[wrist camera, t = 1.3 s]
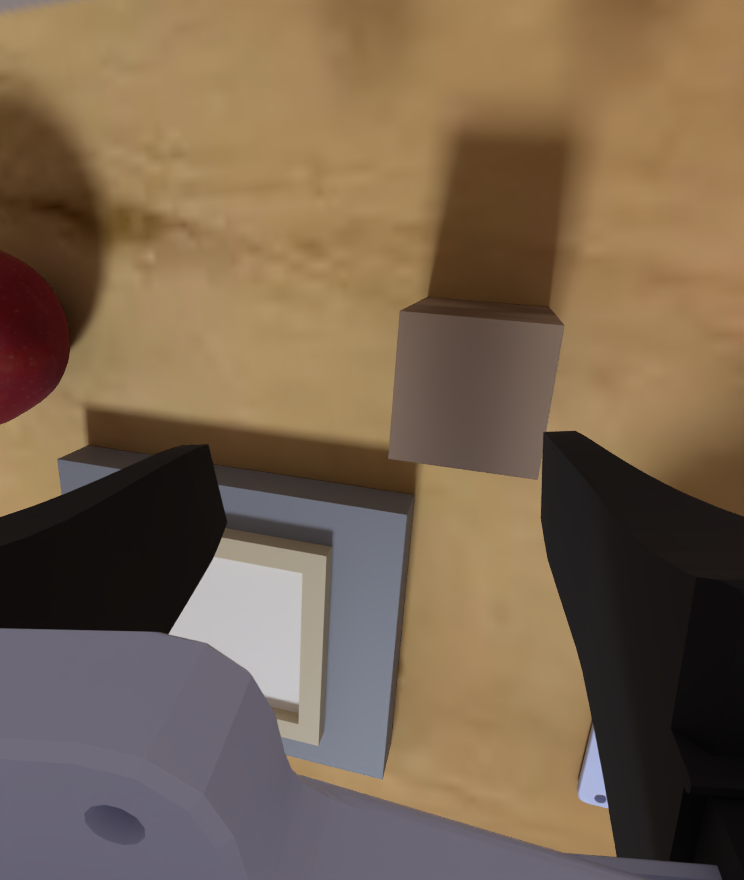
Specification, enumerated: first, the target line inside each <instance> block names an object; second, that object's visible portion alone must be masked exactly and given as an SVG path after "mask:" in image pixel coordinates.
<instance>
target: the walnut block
mask: <svg viewBox="0 0 744 880" xmlns="http://www.w3.org/2000/svg"><path fill="white" fill-rule="evenodd" d="M563 331H564V324H563V323H562V322H561V321H560V320H559V318H558V317H557V316H556V315H555V314H554V312H553V311H552V310H551V309H550V308H549V307H543V306H531V305H519V304H507V303H495V302H483V301H471V300H459V299H446V298H434V297H426V298H424V299H422V300H420V301H418V302H416V303H415V304H413V305H411V306H409V307H407V308H405V309H403V310H401V311H400V315H399V328H398V341H397V353H396V366H395V379H394V392H393V405H392V417H391V430H390V443H389V456H388V459H393V460H400V461H407V462H414V463H422V464H429V465H436V466H443V467H450V468H457V469H464V470H471V471H478V472H486V473H493V474H500V475H507V476H514V477H521V478H528V479H535V480H538V475H539V469H540V464H541V458H542V452H543V432H546V429H547V423H548V417H549V412H550V406H551V400H552V394H553V389H554V383H555V377H556V371H557V366H558V360H559V354H560V348H561V342H562V337H563Z"/></svg>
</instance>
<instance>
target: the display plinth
mask: <svg viewBox="0 0 744 880" xmlns="http://www.w3.org/2000/svg"><path fill="white" fill-rule="evenodd" d="M150 456H153V455H148V454H141V453H135V452H128V451H122V450H115V449H109V448H102V447H95V446H89V445H88V446H86V447H83V448H81V449H79V450H77V451H75V452H72V453H70V454H68V455H66V456H63V457H61V458H59V459H57V460H58V468H59V476H60V484H61V492H62V495H63V494H65V493H68V492H70V491H72V490H75V489H77V488H80V487H82V486H84V485H87V484H89V483H91V482H94V481H96V480H99V479H101V478H103V477H105V476H108V475H110V474H112V473H114V472H117V471H119V470H121V469H123V468H125V467H128V466H130V465H132V464H134V463H137V462H139V461H141V460H143V459H146V458H148V457H150ZM213 466H214V470H215V474H216V478H217V482H218V486H219V490H220V494H221V498H222V502H223V506H224V510H225V514H226V519H227V525H226V528H225V530H224V533H223V536H222V538H221V541H220V544H219V546H218V548H217V551H216V553H215V556H214V558H213V560H212V562H211V563H210V565H209V567H208V569H207V570H206V572H205V574H204V576H203V577H202V579H201V581H200V582H199V584H198V586H197V588H196V589H195V591H194V593H193V594H192V596H191V598H190V599H189V601H188V603H187V604H186V606H185V608H184V609H183V611H182V613H181V614H180V616H179V618H178V619H177V621H176V623H175V624H174V626H173V628H172V629H171V631H170V633H169V635H174V636H178V637H182V638H187V639H191V640H196V641H200V642H204V643H208V644H209V645H211V646H212V647H214V648H215V649H217V650H218V651H220V652H221V653H223V654H224V655H226V656H227V657H228V658H230V659H231V660H233V661H234V662H236V663H237V664H239V665H240V666H242V667H243V668H245V669H246V670H248V671H249V672H250V674H251V675H252V676H253V678H254V679H255V681H256V683H257V684H258V686H259V688H260V689H261V691H262V693H263V694H264V696H265V698H266V699H267V701H268V703H269V704H270V706H271V708H272V709H273V711H274V713H275V715H276V719H277V723H278V727H279V731H280V735H281V739H282V743H283V747H284V751H285V755H288V756H292V757H296V758H300V759H303V760H307V761H311V762H315V763H319V764H323V765H327V766H331V767H335V768H339V769H343V770H347V771H351V772H355V773H359V774H363V775H367V776H370V777H374V778H378V779H383V775H384V771H385V767H386V762H387V758H388V754H389V750H390V746H391V736H392V725H393V715H394V705H395V694H396V684H397V674H398V663H399V653H400V642H401V632H402V622H403V611H404V601H405V591H406V580H407V570H408V560H409V549H410V539H411V529H412V518H413V508H414V497H415V495H411V494H404V493H398V492H391V491H385V490H378V489H372V488H365V487H358V486H352V485H345V484H339V483H332V482H326V481H319V480H312V479H306V478H299V477H293V476H286V475H280V474H273V473H266V472H260V471H253V470H247V469H240V468H234V467H227V466H220V465H214V464H213Z"/></svg>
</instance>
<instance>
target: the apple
mask: <svg viewBox="0 0 744 880" xmlns="http://www.w3.org/2000/svg"><path fill="white" fill-rule="evenodd" d="M69 353H70V335H69V328H68V323H67V319H66V316H65V313H64V310H63V308H62V306H61V304H60V302H59V300H58V298H57V296H56V295H55V293H54V292H53V290H52V289H51V287H50V286H49V285H48V284H47V282H46V281H45V280H44V279H43V278H42V277H41V276H40V275H39V273H37V272H36V271H35V270H34V269H33V268H32V267H30V266H29V265H27V264H26V263H24V262H22V261H21V260H19V259H17V258H15V257H13V256H12V255H9V254H7V253H5V252H3V251H1V250H0V424H3V423H6V422H8V421H10V420H12V419H14V418H16V417H17V416H19V415H21V414H22V413H24V412H26V411H28V410H29V409H31V408H32V407H34V406H35V405H37V404H38V403H40V402H41V401H42V400H44V399H45V398H46V397H47V396H48V395H49V394H50V393H51V392H52V391H53V390H54V389H55V388H56V386H57V385H58V384H59V382H60V380H61V378H62V376H63V374H64V372H65V369H66V366H67V363H68V360H69Z"/></svg>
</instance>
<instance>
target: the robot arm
mask: <svg viewBox="0 0 744 880" xmlns="http://www.w3.org/2000/svg"><path fill="white" fill-rule="evenodd" d="M541 522H542V528H543V535H544V541H545V547H546V552H547V558H548V561H549V565H550V568H551V571H552V574H553V577H554V581H555V584H556V587H557V590H558V593H559V596H560V599H561V602H562V605H563V609H564V612H565V615H566V618H567V621H568V624H569V627H570V630H571V633H572V636H573V640H574V643H575V646H576V649H577V653H578V656H579V660H580V664H581V668H582V672H583V676H584V681H585V686H586V691H587V696H588V701H589V706H590V711H591V716H592V721H593V724H592V728H591V732H590V736H589V740H588V744H587V748H586V752H585V756H584V760H583V765H582V769H581V773H580V777H579V781H578V785H577V793H578V797H579V799H580V800H582V801H583V802H585V803H588V804H592V805H597V806H601V807H605V808H609V814H610V820H611V825H612V831H613V837H614V843H615V849H616V855H617V857H608V856H596V855H584V854H572V853H562V852H559V851H555V850H552V849H549V848H545V847H542V846H539V845H535V844H532V843H528V842H525V841H522V840H518V839H515V838H512V837H508V836H505V835H501V834H498V833H495V832H491V831H488V830H485V829H481V828H478V827H474V826H471V825H468V824H464V823H461V822H458V821H454V820H451V819H447V818H444V817H441V816H437V815H434V814H431V813H427V812H424V811H420V810H417V809H414V808H410V807H407V806H404V805H400V804H397V803H393V802H390V801H387V800H383V799H380V798H377V797H373V796H370V795H366V794H363V793H360V792H356V791H353V790H350V789H346V788H343V787H339V786H336V785H333V784H329V783H326V782H323V781H319V780H316V779H312V778H309V777H306V776H301V775H298V774H296V773H295V772H294V771H293V770H292V769H291V767H290V765H289V762H288V760H287V758H286V755H285V751H284V747H283V743H282V739H281V735H280V731H279V727H278V723H277V719H276V715H275V713H274V711H273V709H272V708H271V706H270V704H269V703H268V701H267V699H266V698H265V696H264V694H263V693H262V691H261V689H260V688H259V686H258V684H257V683H256V681H255V679H254V678H253V676H252V675H251V674H250V672H249V671H248V670H246V669H245V668H243V667H242V666H240V665H239V664H237V663H236V662H234V661H233V660H231V659H230V658H228V657H227V656H226V655H224V654H223V653H221V652H220V651H218V650H217V649H215V648H214V647H212V646H211V645H209V644H208V643H204V642H200V641H196V640H191V639H187V638H182V637H178V636H174V635H169V633H170V631H171V629H172V628H173V626H174V624H175V623H176V621H177V619H178V618H179V616H180V614H181V613H182V611H183V609H184V608H185V606H186V604H187V603H188V601H189V599H190V598H191V596H192V594H193V593H194V591H195V589H196V588H197V586H198V584H199V582H200V581H201V579H202V577H203V576H204V574H205V572H206V570H207V569H208V567H209V565H210V563H211V562H212V560H213V558H214V556H215V553H216V551H217V548H218V546H219V544H220V541H221V538H222V536H223V533H224V530H225V528H226V525H227V519H226V514H225V510H224V506H223V502H222V498H221V494H220V490H219V486H218V482H217V478H216V474H215V470H214V466H213V462H212V458H211V454H210V449H209V445H208V444H204V445H182V446H178V447H174V448H171V449H168V450H165V451H163V452H160V453H158V454H155V455H153V456H150V457H148V458H146V459H143V460H141V461H139V462H137V463H134V464H132V465H130V466H128V467H125V468H123V469H121V470H119V471H117V472H114V473H112V474H110V475H108V476H105V477H103V478H101V479H99V480H96V481H94V482H91V483H89V484H87V485H84V486H82V487H80V488H77V489H75V490H72V491H70V492H68V493H65V494H63V495H61V496H58V497H56V498H53V499H51V500H48V501H45V502H43V503H40V504H37V505H35V506H32V507H29V508H26V509H23V510H20V511H17V512H14V513H11V514H8V515H5V516H2V517H0V880H744V517H743V516H740V515H737V514H734V513H732V512H729V511H726V510H723V509H721V508H718V507H716V506H713V505H711V504H709V503H706V502H704V501H701V500H699V499H697V498H694V497H692V496H689V495H687V494H685V493H683V492H681V491H678V490H676V489H674V488H672V487H670V486H668V485H666V484H665V483H663V482H661V481H659V480H657V479H655V478H653V477H651V476H649V475H647V474H646V473H644V472H642V471H640V470H639V469H637V468H635V467H633V466H632V465H630V464H628V463H627V462H625V461H623V460H622V459H620V458H619V457H617V456H615V455H614V454H612V453H611V452H609V451H607V450H606V449H604V448H603V447H601V446H600V445H598V444H597V443H595V442H594V441H592V440H590V439H589V438H587V437H586V436H584V435H582V434H580V433H578V432H576V431H559V432H543V461H542V497H541ZM598 794H600V795H602V796H598Z"/></svg>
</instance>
